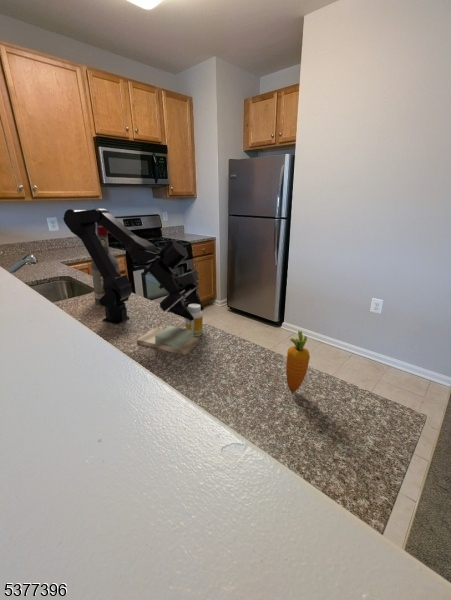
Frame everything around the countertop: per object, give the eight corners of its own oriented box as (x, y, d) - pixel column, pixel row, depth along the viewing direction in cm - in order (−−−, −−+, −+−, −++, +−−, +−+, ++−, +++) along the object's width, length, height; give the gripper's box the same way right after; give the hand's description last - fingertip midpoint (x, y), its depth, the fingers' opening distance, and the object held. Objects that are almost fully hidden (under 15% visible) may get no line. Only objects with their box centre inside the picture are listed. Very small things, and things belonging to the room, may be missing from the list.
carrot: (299, 402, 60) (310, 341, 56) (278, 393, 63) (286, 334, 58) (306, 390, 64) (316, 332, 60) (285, 382, 67) (294, 326, 62)
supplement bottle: (203, 330, 92) (204, 303, 89) (200, 337, 87) (201, 309, 84) (187, 329, 93) (187, 302, 89) (183, 336, 87) (184, 307, 84)
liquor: (98, 298, 116) (91, 225, 106) (121, 298, 118) (116, 226, 108) (94, 306, 107) (86, 227, 98) (119, 305, 110) (113, 228, 100)
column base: (137, 343, 81) (136, 332, 80) (154, 331, 89) (154, 321, 88) (185, 355, 76) (185, 343, 75) (199, 341, 85) (199, 331, 83)
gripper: (168, 266, 75) (206, 310, 76) (193, 256, 92) (224, 291, 93) (144, 290, 79) (179, 331, 80) (172, 276, 96) (201, 310, 97)
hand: (198, 314), depth 87 cm, fingers open, 9 cm apart
